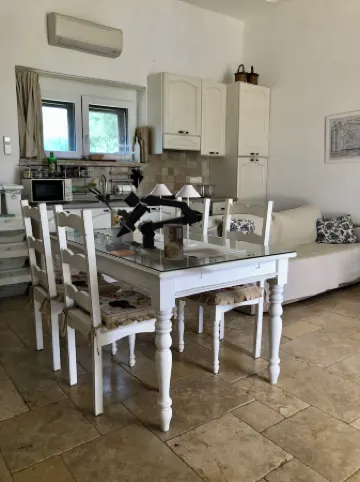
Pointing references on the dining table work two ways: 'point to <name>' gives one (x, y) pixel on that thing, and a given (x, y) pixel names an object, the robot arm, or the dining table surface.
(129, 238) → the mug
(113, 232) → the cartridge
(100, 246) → the dining table surface
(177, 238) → the coffee box
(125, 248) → the dock
